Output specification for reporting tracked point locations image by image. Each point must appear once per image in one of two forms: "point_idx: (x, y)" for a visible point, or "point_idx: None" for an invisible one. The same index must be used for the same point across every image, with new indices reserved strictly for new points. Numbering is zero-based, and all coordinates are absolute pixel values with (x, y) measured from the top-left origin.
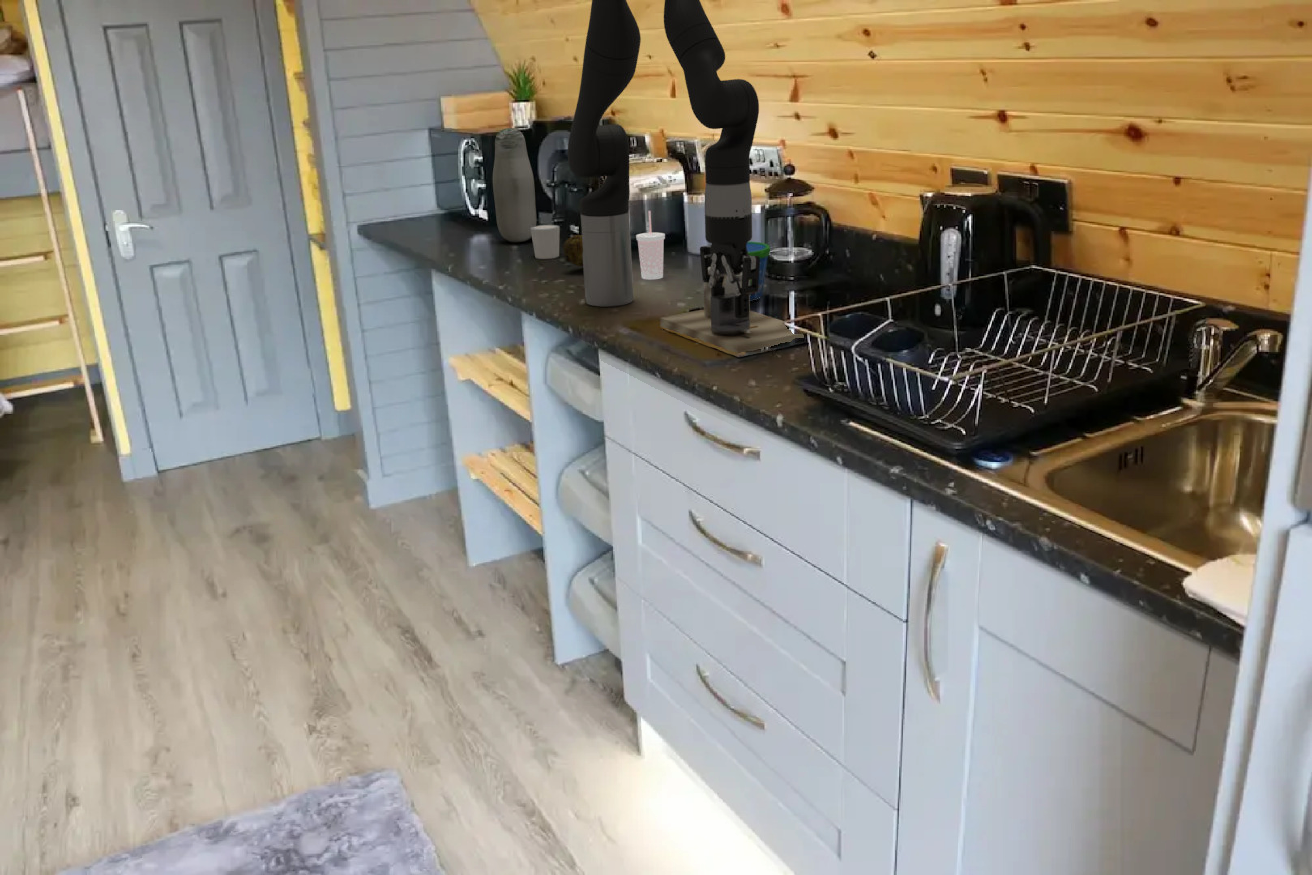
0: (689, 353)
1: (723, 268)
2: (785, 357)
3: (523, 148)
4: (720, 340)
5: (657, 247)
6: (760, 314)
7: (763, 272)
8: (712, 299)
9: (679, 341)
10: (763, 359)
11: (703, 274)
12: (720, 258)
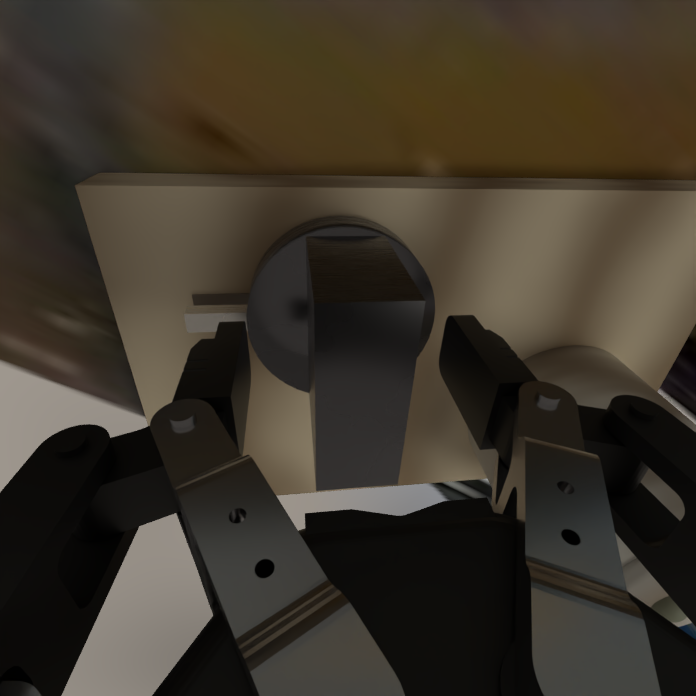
0: (322, 19)
1: (421, 561)
2: (37, 332)
3: None
4: (249, 186)
5: None
6: (451, 478)
7: None
8: (398, 294)
9: (522, 124)
10: (42, 252)
11: (679, 436)
12: (512, 681)
